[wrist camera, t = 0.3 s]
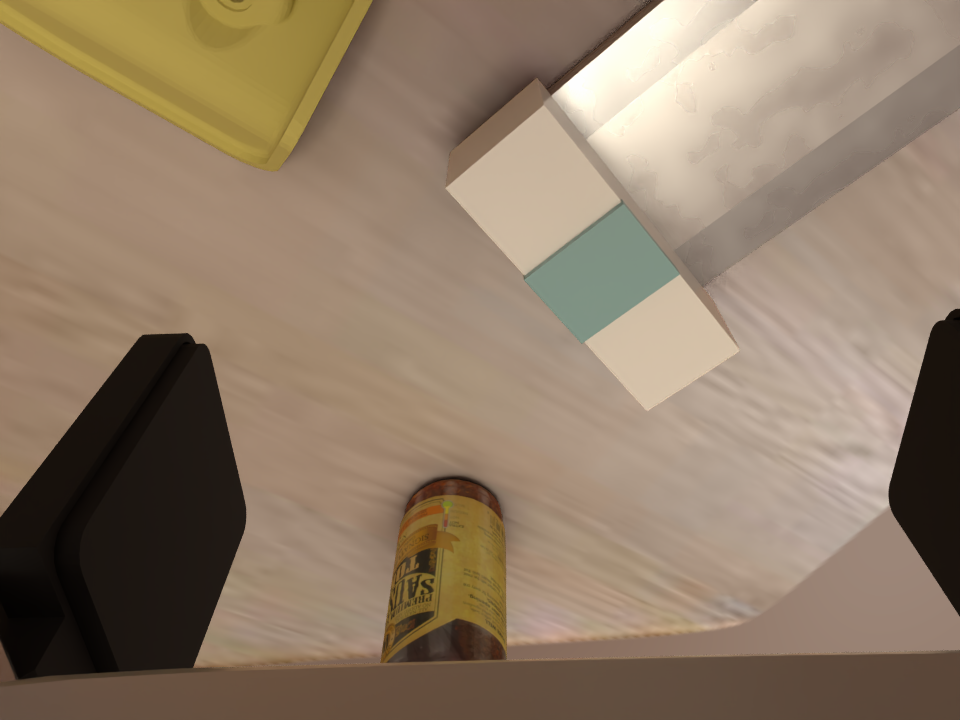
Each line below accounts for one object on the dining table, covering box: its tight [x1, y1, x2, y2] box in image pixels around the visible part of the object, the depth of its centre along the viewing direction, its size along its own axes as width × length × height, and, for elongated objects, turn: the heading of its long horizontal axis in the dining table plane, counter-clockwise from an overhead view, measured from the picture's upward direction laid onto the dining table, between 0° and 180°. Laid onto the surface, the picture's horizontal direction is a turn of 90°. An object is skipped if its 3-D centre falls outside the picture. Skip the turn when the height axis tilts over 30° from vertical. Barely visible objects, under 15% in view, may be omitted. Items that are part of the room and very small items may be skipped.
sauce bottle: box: [380, 479, 507, 663], centre depth 41 cm, size 7×6×20 cm
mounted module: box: [445, 78, 740, 411], centre depth 36 cm, size 5×14×5 cm, turn 41°
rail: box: [547, 0, 960, 286], centre depth 35 cm, size 30×12×2 cm, turn 131°
